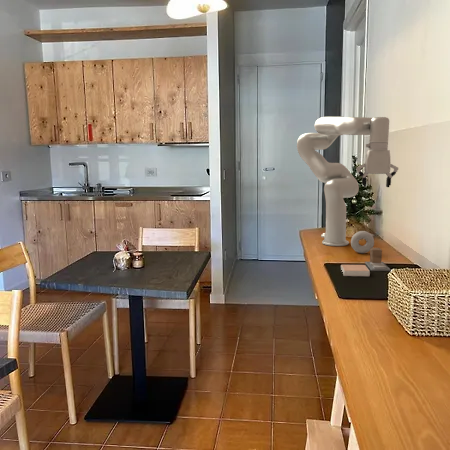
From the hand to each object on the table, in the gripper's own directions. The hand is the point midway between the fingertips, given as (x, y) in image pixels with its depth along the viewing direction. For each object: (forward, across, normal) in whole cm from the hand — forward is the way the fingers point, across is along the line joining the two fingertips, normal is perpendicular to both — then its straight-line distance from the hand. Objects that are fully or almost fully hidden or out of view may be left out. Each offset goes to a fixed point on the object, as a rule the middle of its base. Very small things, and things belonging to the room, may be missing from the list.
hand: (376, 186), depth 196 cm
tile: (+28, -12, -31) cm, 43 cm away
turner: (+28, -3, -27) cm, 39 cm away
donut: (+29, -5, -3) cm, 30 cm away
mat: (+28, -3, -27) cm, 39 cm away
